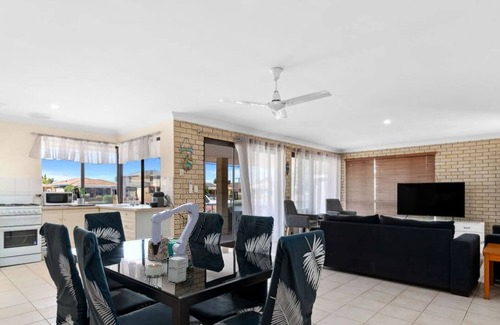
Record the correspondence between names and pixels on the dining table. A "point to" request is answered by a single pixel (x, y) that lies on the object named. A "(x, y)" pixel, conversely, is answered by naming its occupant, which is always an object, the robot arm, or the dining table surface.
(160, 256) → the decorative jar
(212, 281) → the dining table surface
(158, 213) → the robot arm
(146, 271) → the octagonal hollow frame
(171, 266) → the supplement box
